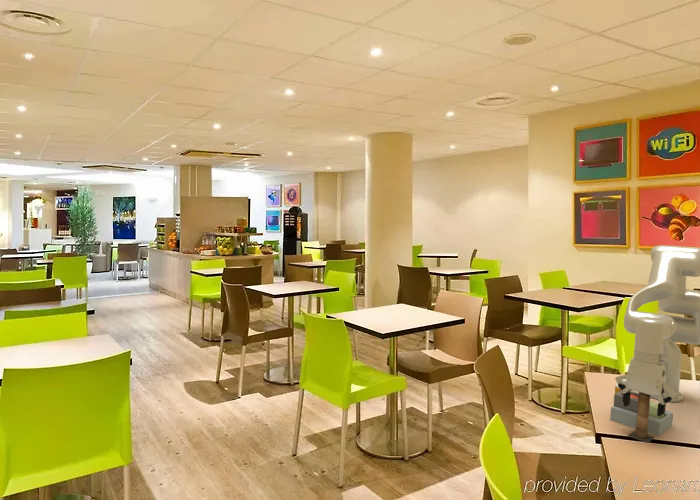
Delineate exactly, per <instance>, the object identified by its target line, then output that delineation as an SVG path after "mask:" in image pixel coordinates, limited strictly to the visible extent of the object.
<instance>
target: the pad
mask: <svg viewBox="0 0 700 500" xmlns="http://www.w3.org/2000/svg"><path fill="white" fill-rule="evenodd" d="M635 433H636V429H635V430H633V431H631V432H630V433H629V434H628V435H627V437H629V438H632V439H635V440H638V441H641V442H644V443H647V444H648V443H650V442H651V441H653V439H655V436H652V435H649V434H647V438H646V439H641V438H638V437H636V436H635Z"/></svg>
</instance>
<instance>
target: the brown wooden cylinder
mask: <svg viewBox="0 0 700 500" xmlns="http://www.w3.org/2000/svg"><path fill="white" fill-rule="evenodd" d="M638 393H639V395H638V408H637V420H636V428H635V431H636V433H635V436H636V437H638V438H641V439H646V438H647V435H648V432H647V431H648V419H649V406H650V401H651V397H650V395H648V394H644V393H640V392H638Z"/></svg>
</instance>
